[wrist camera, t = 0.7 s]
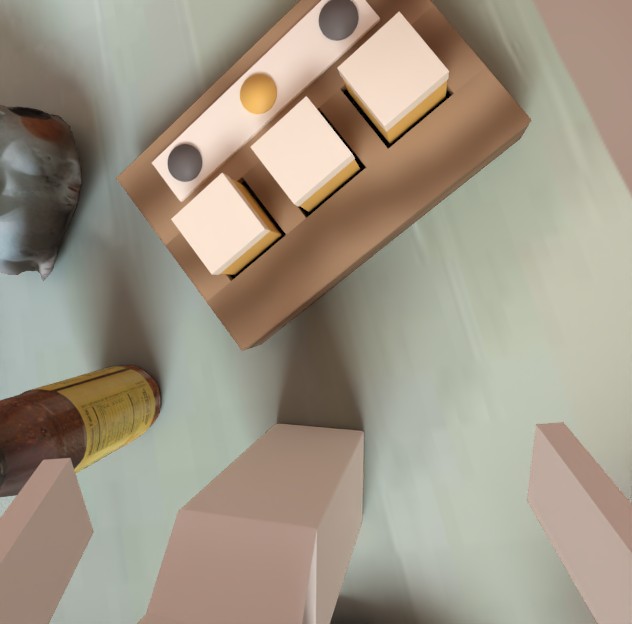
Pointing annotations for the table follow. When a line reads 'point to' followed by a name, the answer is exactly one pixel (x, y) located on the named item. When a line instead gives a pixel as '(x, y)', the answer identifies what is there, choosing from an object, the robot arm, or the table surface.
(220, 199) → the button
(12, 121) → the lucky cat figurine
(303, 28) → the push button panel
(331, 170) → the middle button
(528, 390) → the table surface
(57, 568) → the robot arm
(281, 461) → the milk carton
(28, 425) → the sauce bottle
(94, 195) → the table surface
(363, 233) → the button board
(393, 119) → the yellow white square block
